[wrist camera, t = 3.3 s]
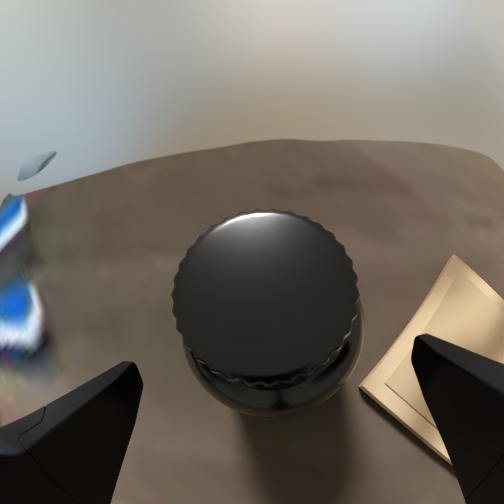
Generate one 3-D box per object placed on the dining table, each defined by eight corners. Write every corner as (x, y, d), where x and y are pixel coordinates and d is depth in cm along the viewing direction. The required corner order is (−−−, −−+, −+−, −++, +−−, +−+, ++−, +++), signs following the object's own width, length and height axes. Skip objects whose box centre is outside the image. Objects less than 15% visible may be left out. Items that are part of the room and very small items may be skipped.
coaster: (535, 346, 14) (543, 342, 13) (466, 476, 11) (473, 478, 10) (448, 260, 19) (454, 253, 18) (358, 386, 16) (362, 385, 15)
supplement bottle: (226, 308, 19) (157, 188, 9) (329, 303, 19) (370, 173, 8) (224, 410, 16) (123, 413, 6) (336, 406, 15) (417, 409, 5)
